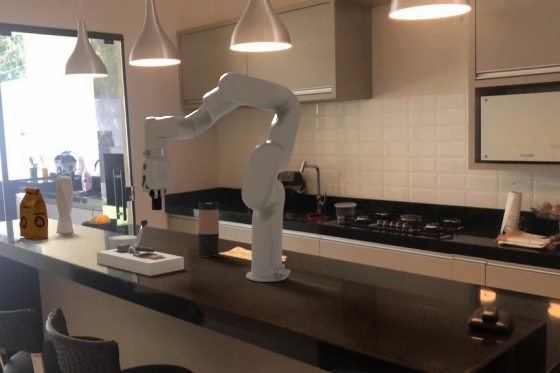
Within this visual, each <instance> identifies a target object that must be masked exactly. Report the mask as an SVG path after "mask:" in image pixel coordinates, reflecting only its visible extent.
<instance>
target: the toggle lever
mask: <svg viewBox="0 0 560 373" xmlns="http://www.w3.org/2000/svg"><path fill="white" fill-rule="evenodd" d="M148 224H149V222H148V220H147V219H141V221H140V227H139V231H138V234H137V235H136V236H137V239H136V241H135V244H134V247H133V248H131V250H130V251H131V252H132V253H134V249H136V247H139V243H140V240H141V238H142V236H143V233H144V229H145V228H146V227H147V226H148Z"/></svg>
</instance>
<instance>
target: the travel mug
mask: <svg viewBox="0 0 560 373" xmlns="http://www.w3.org/2000/svg"><path fill="white" fill-rule="evenodd" d="M219 209H220V202H218V201H207V202H202V201H199V202H198V225H197V226H198V227H197V232H198V234H197V235H198V238H197V240H198V256H199V255H200V256H214V255H218V256H219V242H220V241H219V239H220V238H219V236H220V213H219V212H220V211H219ZM200 256H199V257H200Z"/></svg>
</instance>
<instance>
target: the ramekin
mask: <svg viewBox="0 0 560 373" xmlns="http://www.w3.org/2000/svg"><path fill="white" fill-rule="evenodd" d="M137 236H138V235H129V234H128V235H126V234H125V235H123V234H122V235H114V236H109V237H108V239H107V240H108V242H109V250H113V249H117V245H118V244H130V247H134V244H135V241H136V239H137Z"/></svg>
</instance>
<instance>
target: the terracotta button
mask: <svg viewBox="0 0 560 373" xmlns="http://www.w3.org/2000/svg"><path fill="white" fill-rule="evenodd" d="M150 259H152V260H159V259H163V255H151V256H150Z"/></svg>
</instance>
